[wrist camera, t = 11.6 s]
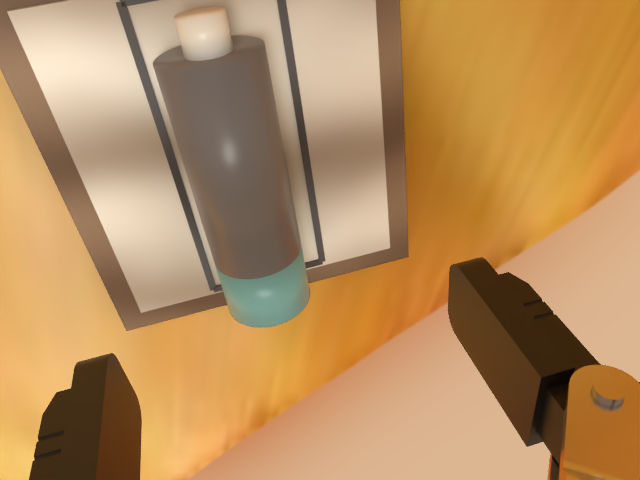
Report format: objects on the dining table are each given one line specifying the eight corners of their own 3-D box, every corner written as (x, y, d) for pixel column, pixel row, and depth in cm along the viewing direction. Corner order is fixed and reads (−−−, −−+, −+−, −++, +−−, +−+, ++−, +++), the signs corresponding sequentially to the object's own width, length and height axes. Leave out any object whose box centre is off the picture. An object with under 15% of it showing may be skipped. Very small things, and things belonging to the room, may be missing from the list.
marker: (160, 6, 18) (122, 36, 15) (264, -8, 17) (247, 21, 15) (236, 273, 25) (221, 329, 22) (312, 268, 24) (307, 325, 21)
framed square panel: (-33, -24, 17) (-45, -17, 16) (386, -95, 19) (399, -94, 18) (127, 316, 25) (126, 335, 24) (401, 245, 27) (410, 260, 26)
